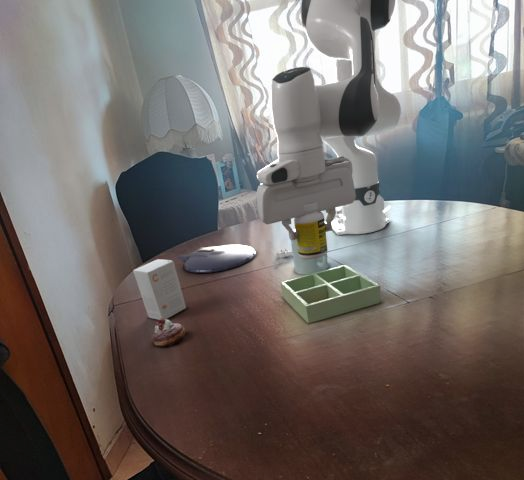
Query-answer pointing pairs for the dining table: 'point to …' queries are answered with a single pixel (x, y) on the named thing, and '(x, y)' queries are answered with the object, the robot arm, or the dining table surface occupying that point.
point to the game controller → (284, 254)
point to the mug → (307, 262)
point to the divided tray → (330, 293)
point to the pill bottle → (311, 233)
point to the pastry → (167, 333)
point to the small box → (160, 289)
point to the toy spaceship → (217, 258)
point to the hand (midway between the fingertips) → (310, 235)
